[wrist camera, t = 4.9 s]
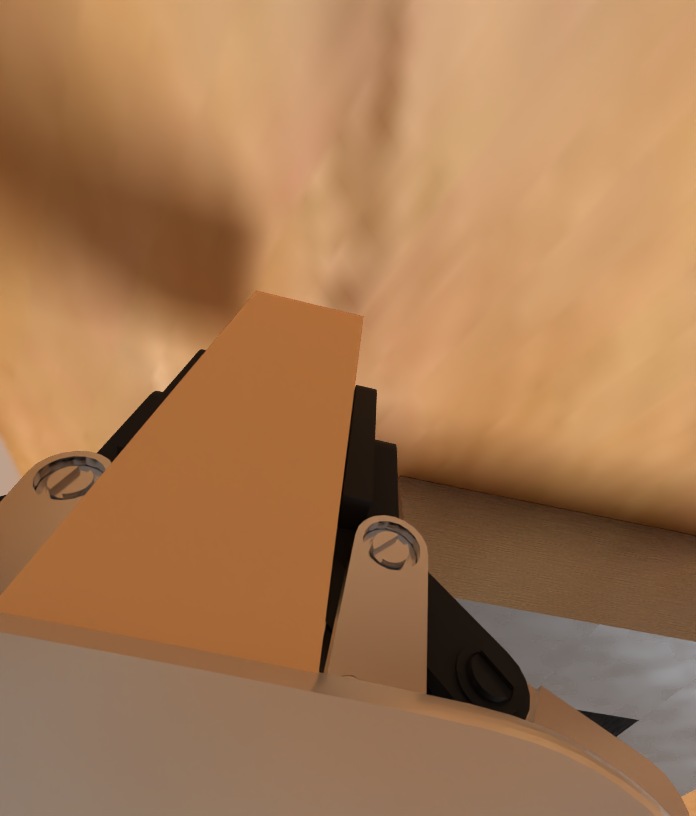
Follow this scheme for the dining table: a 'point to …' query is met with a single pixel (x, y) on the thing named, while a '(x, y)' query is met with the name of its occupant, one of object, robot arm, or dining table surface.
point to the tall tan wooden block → (218, 500)
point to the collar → (577, 608)
